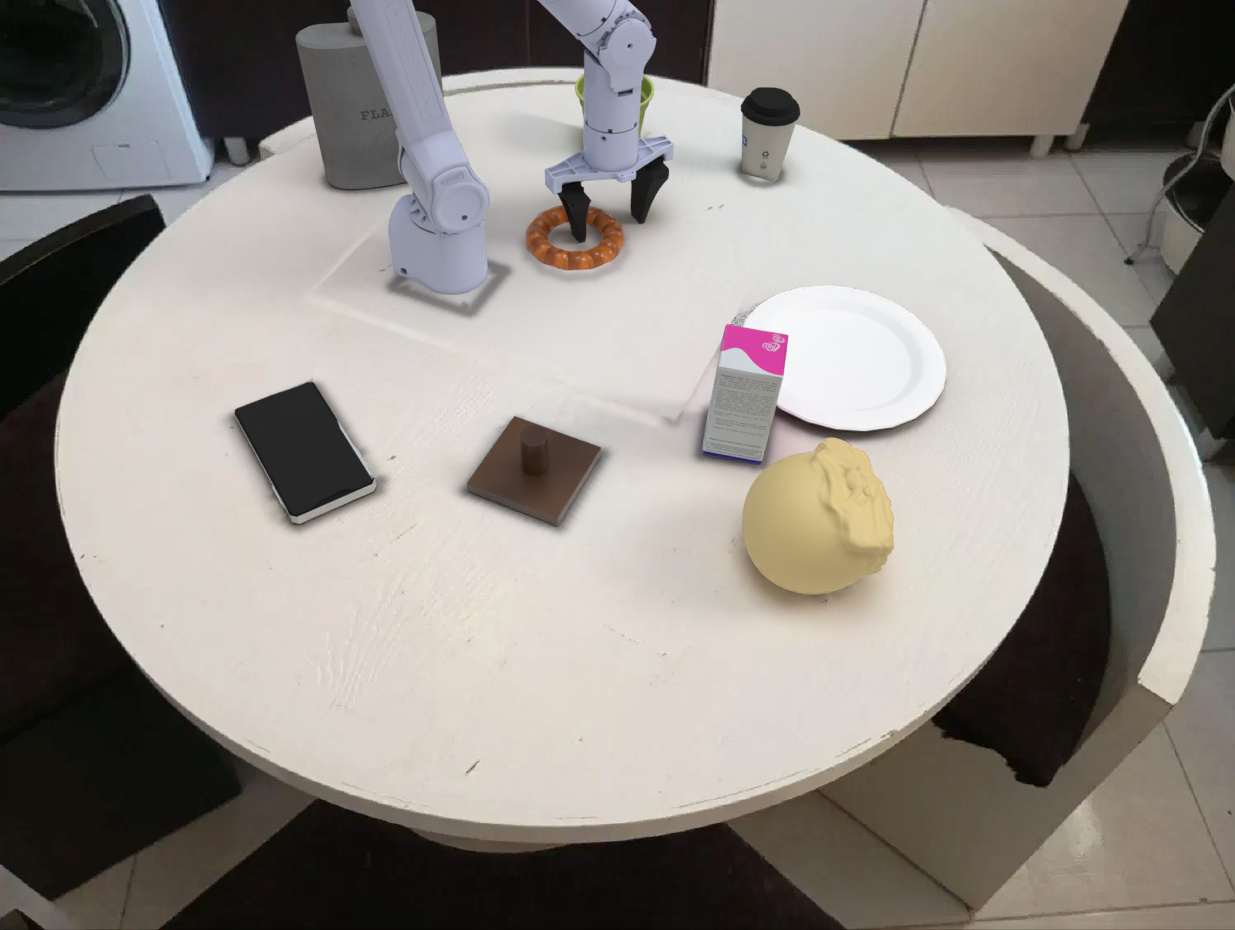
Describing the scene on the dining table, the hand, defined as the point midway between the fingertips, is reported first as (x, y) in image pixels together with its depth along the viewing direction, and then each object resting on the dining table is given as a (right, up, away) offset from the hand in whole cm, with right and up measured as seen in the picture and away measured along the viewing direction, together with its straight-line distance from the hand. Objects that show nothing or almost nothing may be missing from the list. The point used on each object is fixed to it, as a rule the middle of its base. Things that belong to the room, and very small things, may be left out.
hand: (608, 228), depth 111 cm
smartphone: (-28, -26, -21) cm, 43 cm away
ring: (-4, -1, -1) cm, 4 cm away
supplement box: (+12, -24, -18) cm, 32 cm away
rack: (-6, -27, -22) cm, 35 cm away
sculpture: (+17, -34, -26) cm, 47 cm away
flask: (-26, +8, +8) cm, 29 cm away
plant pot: (0, +12, +12) cm, 17 cm away
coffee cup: (+18, +9, +10) cm, 23 cm away
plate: (+23, -16, -11) cm, 31 cm away
